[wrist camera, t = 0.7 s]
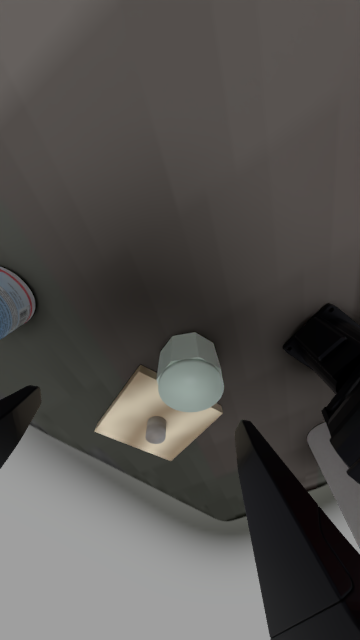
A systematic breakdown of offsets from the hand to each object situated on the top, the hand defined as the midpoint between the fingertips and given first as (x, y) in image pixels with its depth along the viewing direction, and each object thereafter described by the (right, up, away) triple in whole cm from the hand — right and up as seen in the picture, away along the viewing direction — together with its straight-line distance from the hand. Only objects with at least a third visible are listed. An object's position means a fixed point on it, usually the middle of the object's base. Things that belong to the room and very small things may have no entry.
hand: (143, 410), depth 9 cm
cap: (+3, 0, +14) cm, 14 cm away
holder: (-1, -9, +18) cm, 20 cm away
